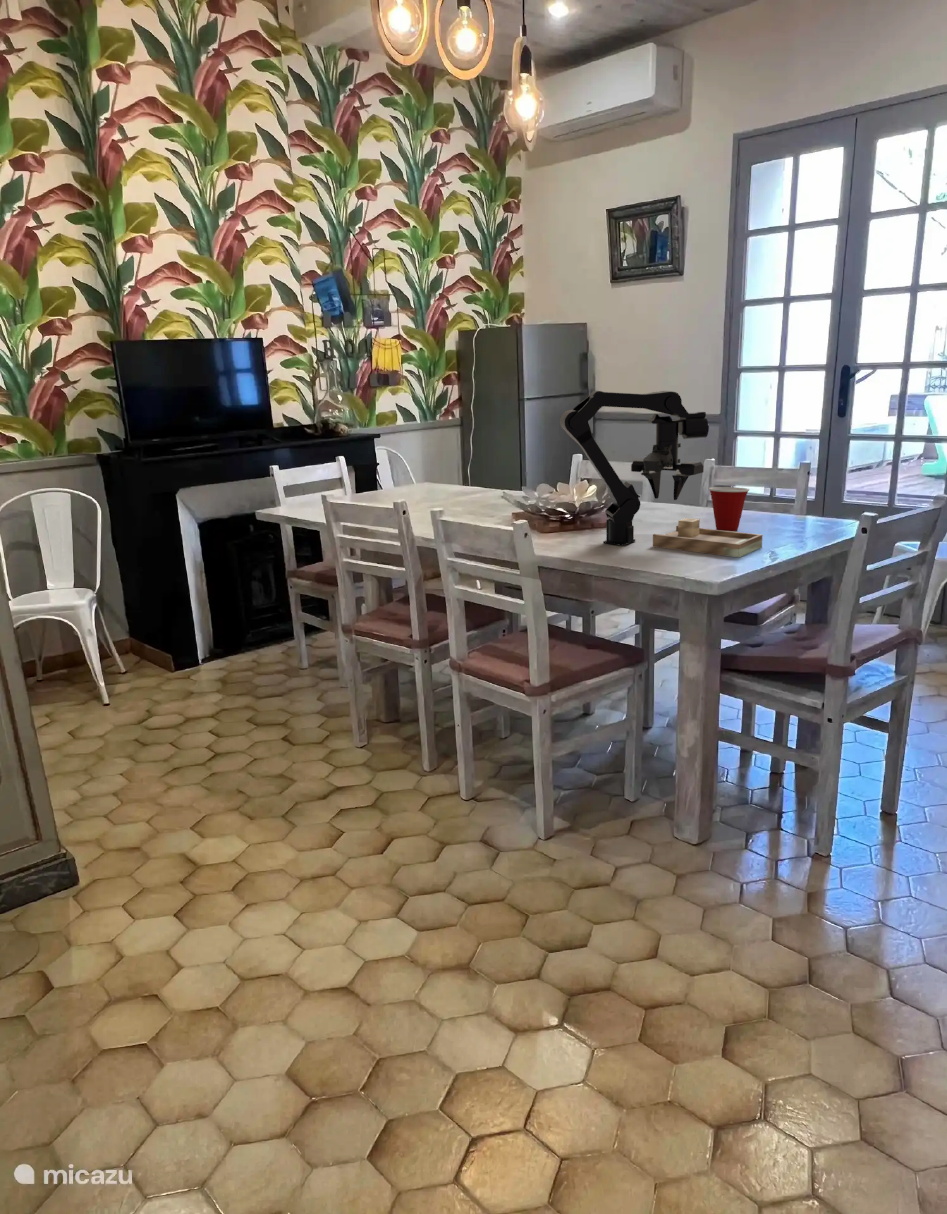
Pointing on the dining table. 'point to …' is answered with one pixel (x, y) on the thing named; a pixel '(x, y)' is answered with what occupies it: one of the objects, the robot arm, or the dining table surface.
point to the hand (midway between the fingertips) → (665, 499)
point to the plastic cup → (728, 506)
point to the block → (688, 527)
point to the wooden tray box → (711, 542)
